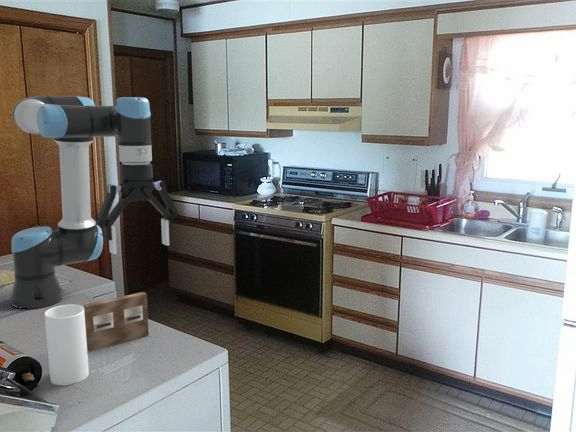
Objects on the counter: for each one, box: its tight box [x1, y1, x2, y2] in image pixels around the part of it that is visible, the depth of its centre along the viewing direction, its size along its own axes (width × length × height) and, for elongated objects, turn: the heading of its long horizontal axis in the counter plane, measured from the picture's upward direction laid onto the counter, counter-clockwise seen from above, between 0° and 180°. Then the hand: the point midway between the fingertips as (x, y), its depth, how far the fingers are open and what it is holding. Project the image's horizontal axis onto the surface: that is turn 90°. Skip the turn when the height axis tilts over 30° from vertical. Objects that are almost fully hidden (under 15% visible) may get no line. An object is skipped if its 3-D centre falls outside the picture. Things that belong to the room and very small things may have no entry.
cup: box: [44, 304, 90, 386], centre depth 118 cm, size 8×8×16 cm
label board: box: [83, 291, 150, 352], centre depth 138 cm, size 16×8×12 cm, turn 128°
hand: (140, 248), depth 128 cm, fingers open, 13 cm apart
